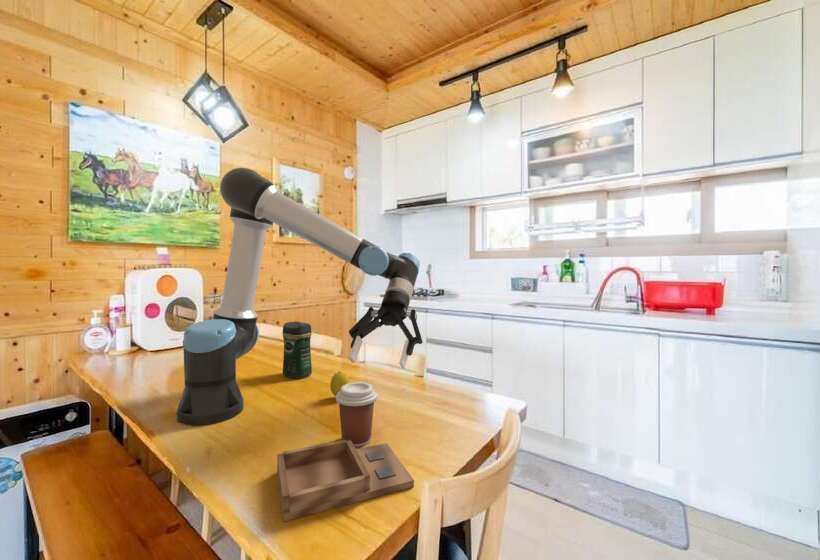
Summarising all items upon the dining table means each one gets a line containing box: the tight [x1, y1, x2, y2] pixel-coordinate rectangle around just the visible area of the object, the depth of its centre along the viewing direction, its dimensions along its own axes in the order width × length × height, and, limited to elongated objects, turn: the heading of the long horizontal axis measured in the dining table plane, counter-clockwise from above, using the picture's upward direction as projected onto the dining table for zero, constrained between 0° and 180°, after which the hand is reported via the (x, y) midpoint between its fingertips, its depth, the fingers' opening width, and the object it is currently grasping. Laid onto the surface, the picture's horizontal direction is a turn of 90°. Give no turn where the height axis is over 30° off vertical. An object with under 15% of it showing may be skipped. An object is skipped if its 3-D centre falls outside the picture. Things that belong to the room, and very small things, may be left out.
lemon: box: [329, 370, 351, 397], centre depth 103 cm, size 6×6×8 cm
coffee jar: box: [282, 321, 313, 379], centre depth 123 cm, size 10×8×19 cm
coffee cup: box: [335, 381, 378, 448], centre depth 79 cm, size 9×9×12 cm
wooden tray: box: [276, 439, 415, 523], centre depth 65 cm, size 22×14×4 cm, turn 114°
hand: (376, 363), depth 89 cm, fingers open, 13 cm apart
